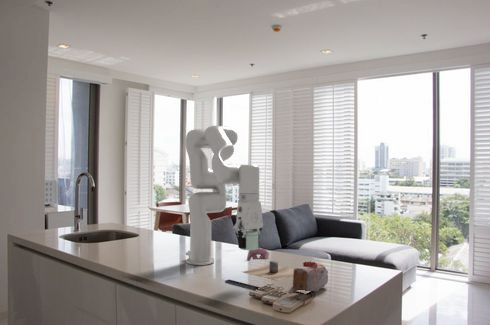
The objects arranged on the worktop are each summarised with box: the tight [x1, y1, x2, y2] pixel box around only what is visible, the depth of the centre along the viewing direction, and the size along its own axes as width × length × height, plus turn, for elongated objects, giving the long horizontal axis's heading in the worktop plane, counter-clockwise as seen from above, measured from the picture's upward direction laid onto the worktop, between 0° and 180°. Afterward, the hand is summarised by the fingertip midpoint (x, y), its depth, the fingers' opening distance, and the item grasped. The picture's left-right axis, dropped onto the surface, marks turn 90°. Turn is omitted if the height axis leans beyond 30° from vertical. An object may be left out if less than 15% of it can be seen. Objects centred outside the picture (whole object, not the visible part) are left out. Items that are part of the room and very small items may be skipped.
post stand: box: [242, 260, 295, 282], centre depth 157 cm, size 18×18×6 cm
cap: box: [239, 230, 259, 251], centre depth 145 cm, size 7×7×6 cm
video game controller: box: [246, 247, 270, 262], centre depth 183 cm, size 10×5×7 cm, turn 75°
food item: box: [292, 261, 329, 293], centre depth 139 cm, size 14×8×10 cm, turn 141°
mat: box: [224, 279, 261, 291], centre depth 145 cm, size 14×10×1 cm
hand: (248, 246), depth 145 cm, fingers closed on cap, 6 cm apart
